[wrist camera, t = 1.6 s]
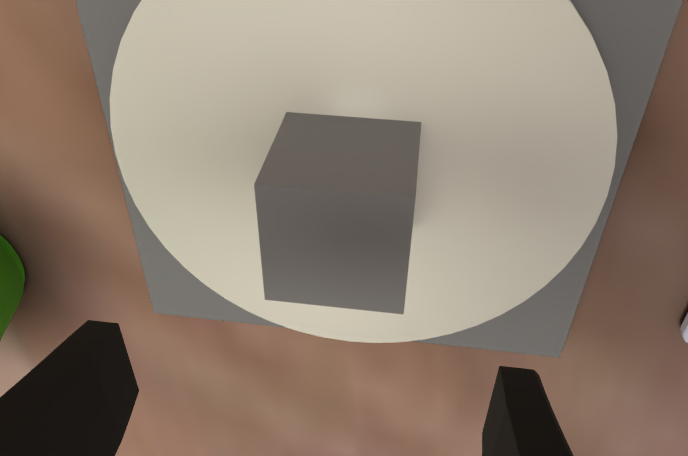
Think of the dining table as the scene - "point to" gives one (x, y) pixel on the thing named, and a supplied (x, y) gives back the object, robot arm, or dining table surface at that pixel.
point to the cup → (9, 283)
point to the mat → (502, 331)
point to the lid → (366, 154)
